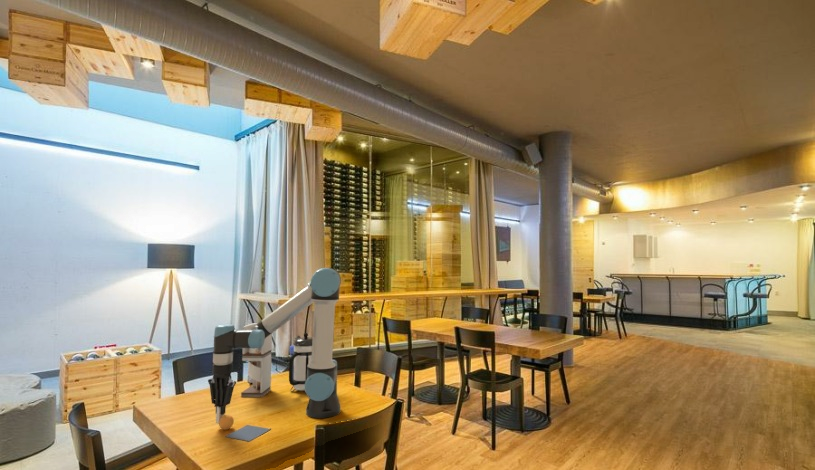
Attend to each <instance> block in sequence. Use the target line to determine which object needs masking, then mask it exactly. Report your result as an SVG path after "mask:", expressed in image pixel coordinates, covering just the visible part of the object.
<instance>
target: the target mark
mask: <svg viewBox="0 0 815 470" xmlns="http://www.w3.org/2000/svg"><path fill="white" fill-rule="evenodd" d="M269 431H271V428H266V427H263V426H256V425H250V424H246V425H244V426H242V427H240V428H238V429H236V430H234V431H232V432H231V433H228V434H227V435H224V438H229V439H233V440H239V441H244V442H251V441H253V440H255V439H256V438H258V437H260V436H262V435H263V434H266V433H267V432H269Z"/></svg>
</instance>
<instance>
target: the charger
mask: <svg viewBox="0 0 815 470" xmlns="http://www.w3.org/2000/svg"><path fill="white" fill-rule="evenodd" d="M247 383H249V384H251V383H252V384H253V379H252V378H251V377H250V376H249V375H248V374H247Z"/></svg>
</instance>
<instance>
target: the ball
mask: <svg viewBox="0 0 815 470" xmlns="http://www.w3.org/2000/svg"><path fill="white" fill-rule="evenodd" d="M234 421H235V419H234V417H233V416H232V415H231V414H224V416H223V417H222V418H221V419H220V421H219V424H218V426H219V428H220V429H221V430H223V431H224V430H225V431H227V430H229V429H231V428H232V427H233V425H234Z"/></svg>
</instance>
